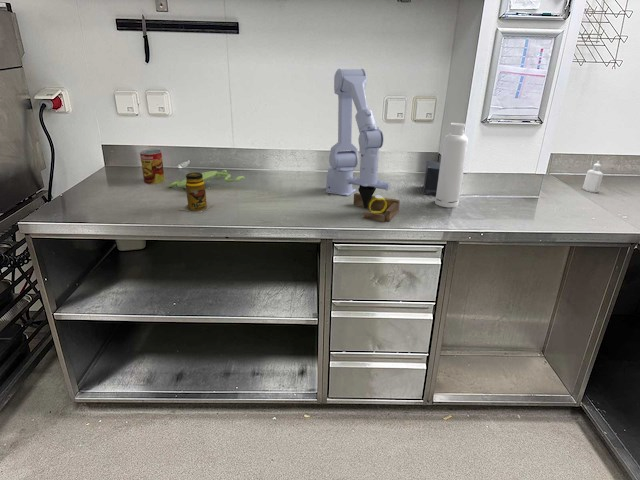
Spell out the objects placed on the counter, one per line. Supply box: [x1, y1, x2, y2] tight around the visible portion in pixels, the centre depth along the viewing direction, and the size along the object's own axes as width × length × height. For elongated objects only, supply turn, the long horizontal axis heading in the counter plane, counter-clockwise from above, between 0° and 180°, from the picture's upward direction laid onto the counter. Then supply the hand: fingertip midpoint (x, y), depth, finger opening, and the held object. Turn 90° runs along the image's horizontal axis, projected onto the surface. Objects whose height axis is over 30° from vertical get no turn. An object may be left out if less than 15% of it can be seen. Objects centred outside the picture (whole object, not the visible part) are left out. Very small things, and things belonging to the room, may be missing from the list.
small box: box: [422, 160, 441, 196], centre depth 169 cm, size 11×6×10 cm, turn 168°
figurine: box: [167, 169, 245, 189], centre depth 169 cm, size 18×27×6 cm
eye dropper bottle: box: [582, 160, 604, 194], centre depth 172 cm, size 4×6×12 cm
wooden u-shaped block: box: [352, 192, 401, 222], centre depth 147 cm, size 16×12×4 cm
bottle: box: [434, 122, 469, 208], centre depth 152 cm, size 8×8×28 cm
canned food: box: [139, 148, 166, 185], centre depth 173 cm, size 8×8×12 cm
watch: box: [368, 194, 387, 214], centre depth 146 cm, size 6×3×6 cm, turn 100°
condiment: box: [178, 171, 213, 214], centre depth 146 cm, size 7×8×12 cm
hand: (366, 207), depth 148 cm, fingers closed
